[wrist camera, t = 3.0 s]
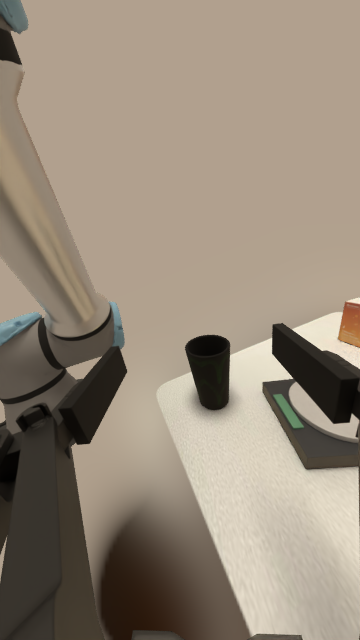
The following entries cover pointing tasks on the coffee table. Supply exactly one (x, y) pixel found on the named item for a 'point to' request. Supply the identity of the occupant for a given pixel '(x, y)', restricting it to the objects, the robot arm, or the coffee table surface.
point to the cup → (210, 369)
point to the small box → (351, 323)
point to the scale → (312, 427)
